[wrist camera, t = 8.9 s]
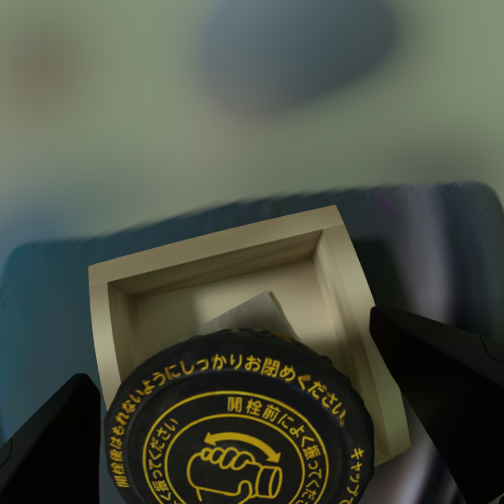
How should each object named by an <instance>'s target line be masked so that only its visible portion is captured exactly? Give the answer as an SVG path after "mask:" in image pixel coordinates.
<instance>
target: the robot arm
mask: <svg viewBox="0 0 504 504" xmlns="http://www.w3.org/2000/svg"><path fill="white" fill-rule="evenodd" d="M369 332H370V335H371V337H372V339H373V341H374V343H375V345H376V347H377V349H378V351H379V353H380V355H381V357H382V359H383V361H384V363H385V365H386V367H387V369H388V370H389V372H390V374H391V376H392V377H393V379H394V380H395V382H396V383H397V385H398V387H399V388H400V390H401V391H402V393H403V394H404V396H405V397H406V399H407V401H408V402H409V404H410V405H411V407H412V409H413V410H414V412H415V413H416V415H417V417H418V418H419V420H420V421H421V423H422V425H423V426H424V428H425V430H426V431H427V433H428V435H429V436H430V438H431V440H432V441H433V443H434V445H435V447H436V448H437V450H438V452H439V453H440V455H441V457H442V459H443V460H444V462H445V464H446V466H447V467H448V468H449V471H450V473H451V475H452V477H453V479H454V480H455V482H456V484H457V486H458V488H459V490H460V492H461V494H462V495H463V497H464V499H465V501H466V503H467V504H487V503H489V502H491V501H492V500H494V499H496V498H497V497H499V496H501V495H502V494H504V343H502V342H499V341H495V340H492V339H489V338H486V337H483V336H479V335H477V334H474V333H471V332H468V331H465V330H462V329H459V328H456V327H453V326H450V325H447V324H443V323H440V322H437V321H435V320H432V319H429V318H426V317H423V316H420V315H417V314H414V313H411V312H408V311H405V310H402V309H399V308H396V307H393V306H390V305H387V304H384V303H382V304H379V305H376V306H373V307H372V308H371V309H370V318H369ZM100 442H101V395H100V391H99V389H98V388H97V387H96V385H95V384H94V383H93V381H92V380H91V378H90V377H89V376H88V375H87V374H86V373H78V374H74V375H73V376H72V377H71V378H70V379H69V380H68V381H67V382H66V383H65V384H64V385H63V386H62V387H61V388H60V389H59V390H58V391H57V392H56V393H55V394H54V395H53V396H52V397H51V398H50V399H49V400H47V401H46V402H45V403H44V404H43V405H42V406H41V407H40V408H39V409H38V410H37V411H36V412H35V413H34V414H33V415H32V416H31V417H30V418H29V419H28V420H27V421H26V422H25V423H24V424H23V425H22V427H21V428H20V429H19V430H18V431H17V432H16V433H15V434H14V435H13V437H11V438H10V439H9V440H8V441H7V442H6V443H5V444H4V445H3V446H2V447H1V448H0V504H100V503H99V462H100ZM499 504H504V495H503V496H502V497H501V498H500V500H499Z"/></svg>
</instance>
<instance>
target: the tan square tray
mask: <svg viewBox="0 0 504 504" xmlns="http://www.w3.org/2000/svg"><path fill="white" fill-rule="evenodd" d="M265 290H267V292H268V294H269V295H270V297H271V299H272V300H273V302H274V304H275V306H276V307H277V309H278V311H279V313H280V314H281V316H282V318H283V319H284V321H285V323H286V325H287V326H288V328H289V330H290V331H291V333H292V335H293V337H294V338H295V340H297V341H299V342H301V343H303V344H305V345H306V346H308V347H310V348H311V349H313V350H314V351H315V352H316V353H318V354H319V355H322V356H327V357H328V358H329V359H330V360H331V361H332V364H333V367H334V368H336V369H337V370H338V371H340V372H341V373H343V374H344V375H346V376H347V377H348V378H350V381H351V385H352V387H353V388H354V389H355V390H356V391H358V393H359V394H360V397H361V398H362V399H363V400H364V405H365V407H366V408H367V410H368V412H369V414H370V415H371V418H372V420H373V424H374V447H375V460H374V467H376V466H378V465H380V464H382V463H384V462H386V461H388V460H390V459H392V458H394V457H396V456H398V455H399V454H401V453H403V452H405V451H406V450H408V449H410V448H411V442H410V436H409V431H408V425H407V420H406V415H405V411H404V406H403V401H402V397H401V393H400V389H399V387H398V385H397V383H396V382H395V380H394V379H393V377H392V376H391V374H390V372H389V370H388V369H387V367H386V365H385V363H384V361H383V359H382V357H381V355H380V353H379V351H378V349H377V347H376V345H375V343H374V341H373V339H372V337H371V335H370V332H369V318H370V309H371V308H372V307H373V306H375V303H374V300H373V297H372V294H371V292H370V289H369V286H368V283H367V280H366V278H365V275H364V272H363V270H362V267H361V264H360V262H359V259H358V257H357V254H356V252H355V249H354V247H353V244H352V242H351V239H350V237H349V235H348V232H347V230H346V228H345V225H344V223H343V221H342V218H341V216H340V214H339V211H338V209H337V207H336V205H333V206H328V207H324V208H319V209H314V210H310V211H305V212H301V213H296V214H292V215H287V216H283V217H279V218H274V219H270V220H266V221H261V222H257V223H253V224H249V225H244V226H240V227H236V228H232V229H228V230H224V231H220V232H215V233H211V234H207V235H203V236H199V237H195V238H192V239H188V240H184V241H180V242H176V243H172V244H168V245H164V246H161V247H157V248H153V249H149V250H146V251H142V252H138V253H134V254H131V255H127V256H123V257H120V258H116V259H113V260H109V261H105V262H102V263H98V264H95V265H91V266H89V291H90V306H91V318H92V328H93V336H94V344H95V351H96V357H97V364H98V369H99V375H100V380H101V385H102V390H103V395H104V399H105V403H106V407H107V411H108V410H109V408H110V405H111V403H112V401H113V399H114V397H115V395H116V392H117V390H118V388H119V386H120V384H121V383H122V382H123V381H124V380H125V379H126V378H127V377H128V376H129V375H130V374H131V373H132V372H133V371H134V369H135V368H136V367H137V366H138V365H140V364H141V363H143V362H144V361H145V360H147V359H148V358H150V357H151V356H153V355H155V354H157V353H158V352H159V351H161V350H163V349H162V347H161V344H163V343H165V342H167V341H170V340H172V339H174V338H176V337H178V336H180V335H182V334H184V333H186V332H188V331H190V330H192V329H194V328H196V327H198V326H200V325H202V324H205V323H206V322H208V321H210V320H212V319H214V318H216V317H218V316H220V315H222V314H224V313H225V312H227V311H229V310H231V309H233V308H235V307H237V306H239V305H240V304H242V303H244V302H246V301H248V300H250V299H251V298H253V297H255V296H256V295H258V294H260V293H262V292H264V291H265Z"/></svg>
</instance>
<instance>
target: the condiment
mask: <svg viewBox="0 0 504 504" xmlns="http://www.w3.org/2000/svg"><path fill="white" fill-rule="evenodd" d="M161 347H162V349H163V350H161V351H159V352H158V353H157V354H155V355H153V356H151V357H150V358H148V359H147V360H145V361H144V362H143V363H141V364H140V365H138V366H137V367H136V368H135V369H134V371H133V372H132V373H131V374H130V375H129V376H128V377H127V378H126V379H125V380H124V381H123V382H122V383H121V384H120V386H119V388H118V390H117V392H116V395H115V397H114V399H113V401H112V403H111V405H110V408H109V410H108V411H107V413H106V416H105V419H104V437H105V452H106V458H107V469H108V472H109V474H110V476H111V478H112V480H113V482H114V484H115V487H116V488H117V490H118V491H119V493H120V495H121V497H122V498H123V499H124V501H125V503H126V504H357V503H358V502H359V500H360V499H361V497H362V496H363V494H364V491H365V489H366V487H367V485H368V483H369V482H370V480H371V479H372V477H373V474H374V460H375V447H374V424H373V420H372V418H371V415H370V414H369V412H368V410H367V408H366V407H365V405H364V400H363V399H362V398H361V397H360V394H359V393H358V391H356V390H355V389H354V388H353V387H352V385H351V381H350V378H348V377H347V376H346V375H344V374H343V373H341V372H340V371H338V370H337V369H336V368H334V367H333V364H332V361H331V360H330V359H329V358H328V357H327V356H322V355H319V354H318V353H316V352H315V351H314V350H313V349H311V348H310V347H308V346H306V345H305V344H303V343H301V342H299V341H297V340H295V338H294V337H293V335H292V333H291V331H290V330H289V328H288V326H287V325H286V323H285V321H284V319H283V318H282V316H281V314H280V313H279V311H278V309H277V307H276V306H275V304H274V302H273V300H272V299H271V297H270V295H269V294H268V292H267V290H265V291H264V292H262V293H260V294H258V295H256V296H255V297H253V298H251V299H250V300H248V301H246V302H244V303H242V304H240V305H239V306H237V307H235V308H233V309H231V310H229V311H227V312H225V313H224V314H222V315H220V316H218V317H216V318H214V319H212V320H210V321H208V322H206V323H205V324H202V325H200V326H198V327H196V328H194V329H192V330H190V331H188V332H186V333H184V334H182V335H180V336H178V337H176V338H174V339H172V340H170V341H167V342H165V343H163V344H161Z"/></svg>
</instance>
